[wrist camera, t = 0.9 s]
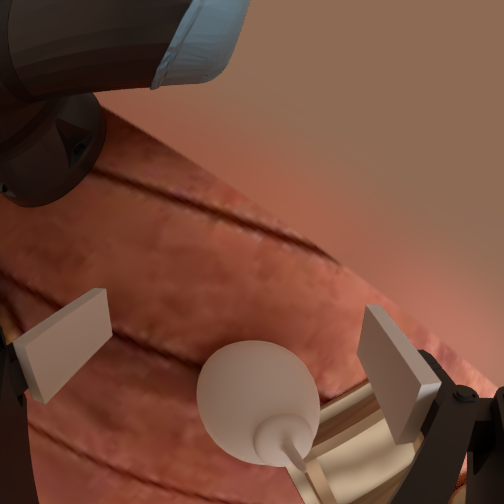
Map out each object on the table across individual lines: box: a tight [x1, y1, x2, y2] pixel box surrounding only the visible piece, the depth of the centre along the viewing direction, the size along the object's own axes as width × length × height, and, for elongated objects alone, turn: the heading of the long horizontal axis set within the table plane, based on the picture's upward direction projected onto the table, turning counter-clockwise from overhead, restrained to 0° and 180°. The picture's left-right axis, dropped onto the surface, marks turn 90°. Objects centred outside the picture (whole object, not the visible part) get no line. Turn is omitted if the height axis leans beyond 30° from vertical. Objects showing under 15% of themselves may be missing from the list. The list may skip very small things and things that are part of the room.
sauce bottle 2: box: [197, 340, 320, 473], centre depth 17 cm, size 8×8×18 cm
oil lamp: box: [448, 484, 466, 504], centre depth 21 cm, size 11×15×8 cm
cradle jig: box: [285, 379, 424, 504], centre depth 23 cm, size 16×16×4 cm
